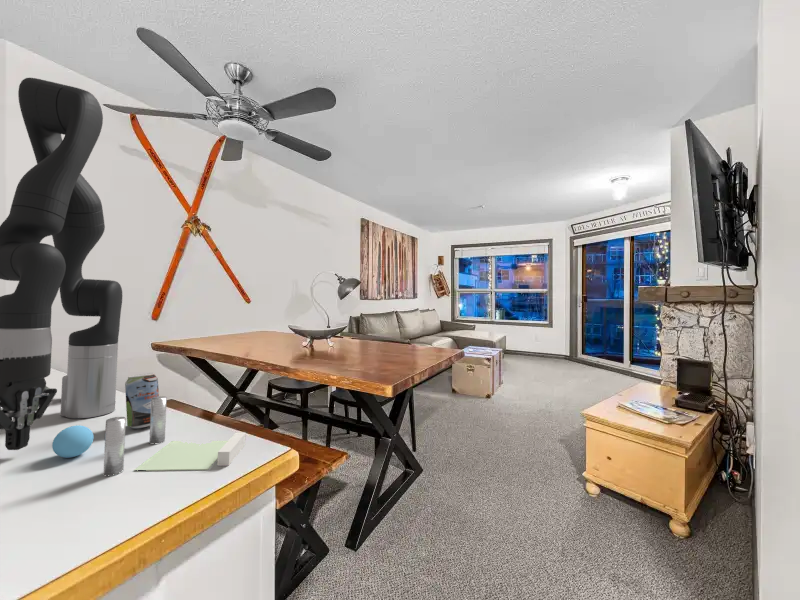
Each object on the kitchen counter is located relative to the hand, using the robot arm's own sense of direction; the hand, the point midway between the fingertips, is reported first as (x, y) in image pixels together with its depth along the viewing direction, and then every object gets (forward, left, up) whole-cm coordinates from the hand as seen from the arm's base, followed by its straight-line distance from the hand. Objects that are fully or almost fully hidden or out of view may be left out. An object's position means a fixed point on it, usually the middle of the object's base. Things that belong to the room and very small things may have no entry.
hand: (17, 448), depth 62 cm
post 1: (+20, -6, -2) cm, 21 cm away
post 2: (+20, +7, -2) cm, 21 cm away
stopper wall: (+37, 0, -2) cm, 37 cm away
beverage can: (+12, +15, -2) cm, 19 cm away
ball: (+9, 0, +1) cm, 9 cm away
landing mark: (+29, 0, -2) cm, 29 cm away
